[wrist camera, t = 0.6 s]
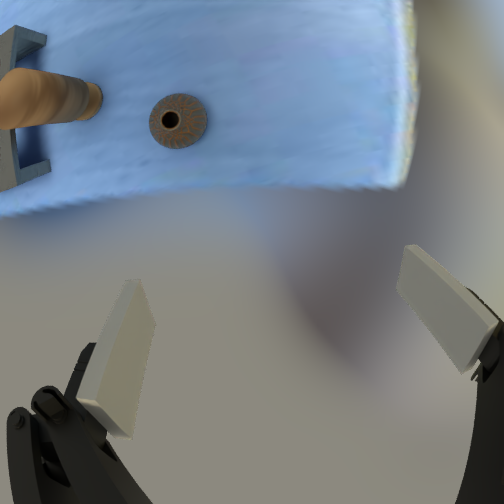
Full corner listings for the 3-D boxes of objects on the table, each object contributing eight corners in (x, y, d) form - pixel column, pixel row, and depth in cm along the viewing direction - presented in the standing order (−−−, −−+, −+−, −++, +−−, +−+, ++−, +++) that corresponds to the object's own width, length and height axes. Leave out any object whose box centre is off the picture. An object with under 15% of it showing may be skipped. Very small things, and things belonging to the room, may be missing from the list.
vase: (153, 143, 33) (133, 149, 25) (162, 94, 30) (144, 86, 22) (203, 149, 34) (197, 156, 26) (213, 100, 31) (209, 91, 23)
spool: (68, 89, 27) (-8, 83, 12) (103, 77, 27) (32, 57, 12) (71, 126, 29) (-7, 138, 14) (105, 115, 30) (32, 117, 15)
